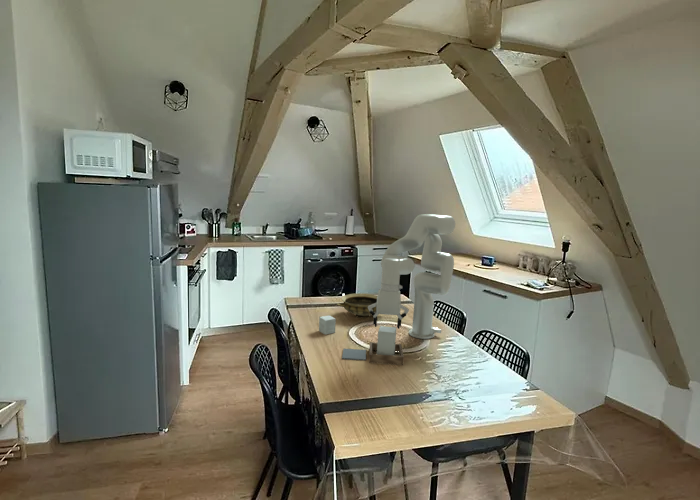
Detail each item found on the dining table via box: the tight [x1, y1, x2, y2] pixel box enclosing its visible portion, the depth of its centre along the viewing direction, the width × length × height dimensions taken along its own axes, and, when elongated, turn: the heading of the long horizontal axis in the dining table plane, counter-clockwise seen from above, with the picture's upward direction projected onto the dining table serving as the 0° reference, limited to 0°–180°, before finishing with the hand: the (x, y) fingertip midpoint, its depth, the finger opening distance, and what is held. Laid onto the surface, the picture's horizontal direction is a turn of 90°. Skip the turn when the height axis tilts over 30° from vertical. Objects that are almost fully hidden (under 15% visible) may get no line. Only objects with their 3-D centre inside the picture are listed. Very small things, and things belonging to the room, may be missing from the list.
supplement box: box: [376, 325, 397, 356], centre depth 179 cm, size 7×7×13 cm
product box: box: [318, 315, 336, 336], centre depth 207 cm, size 6×6×7 cm
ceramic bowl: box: [336, 292, 377, 319], centre depth 233 cm, size 30×24×10 cm
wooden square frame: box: [368, 341, 405, 366], centre depth 180 cm, size 14×14×4 cm
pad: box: [341, 348, 367, 362], centre depth 181 cm, size 10×10×1 cm
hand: (386, 326), depth 178 cm, fingers open, 9 cm apart
